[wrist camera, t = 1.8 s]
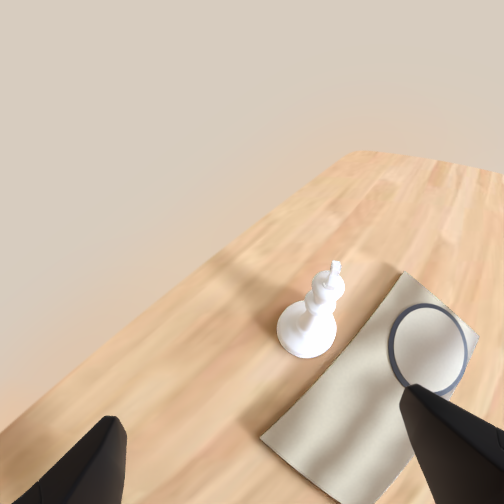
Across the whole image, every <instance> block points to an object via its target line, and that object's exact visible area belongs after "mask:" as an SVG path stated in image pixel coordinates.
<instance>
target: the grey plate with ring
mask: <svg viewBox="0 0 504 504" xmlns="http://www.w3.org/2000/svg"><path fill="white" fill-rule="evenodd" d="M479 337H480V336H479V335H478V334H477V333H475V332H474V331H473V330H472V329H471V328H470V327H469V326H468V325H467V324H466V323H465V322H464V321H463V320H461V319H460V318H459V317H458V316H457V315H456V314H455V313H454V312H453V311H451V310H450V309H449V308H448V307H447V306H446V305H445V304H444V303H442V302H441V301H440V300H439V299H438V298H437V297H436V296H434V295H433V294H432V293H431V292H430V291H429V290H427V289H426V288H425V287H424V286H423V285H421V284H420V283H419V282H418V281H417V280H415V279H414V278H413V277H412V276H411V275H409V274H408V273H407V272H406V271H404V272H403V273H402V274H401V276H400V277H399V279H398V280H397V282H396V283H395V284H394V286H393V287H392V289H391V290H390V291H389V293H388V294H387V296H386V297H385V298H384V300H383V301H382V302H381V304H380V305H379V306H378V308H377V309H376V310H375V312H374V313H373V314H372V316H371V317H370V318H369V320H368V321H367V322H366V323H365V325H364V326H363V327H362V328H361V330H360V331H359V332H358V333H357V335H356V336H355V337H354V338H353V340H352V341H351V342H350V343H349V344H348V346H347V347H346V348H345V349H344V350H343V351H342V353H341V354H340V355H339V356H338V357H337V358H336V360H335V361H334V362H333V363H332V364H331V365H330V366H329V368H328V369H327V370H326V371H325V372H324V373H323V374H322V375H321V376H320V378H319V379H318V380H317V381H316V382H315V383H314V384H313V385H312V386H311V387H310V388H309V389H308V390H307V391H306V392H305V393H304V395H303V396H302V397H301V398H300V399H299V400H298V401H297V402H296V403H295V404H294V405H293V406H292V407H291V408H290V409H289V410H288V411H287V412H286V413H285V414H284V415H283V416H282V417H281V418H280V419H278V420H277V421H276V422H275V423H274V424H273V425H272V426H271V427H270V428H269V429H268V430H267V431H266V432H265V433H264V434H262V435H261V436H260V437H259V438H260V439H261V440H262V441H263V442H264V443H265V444H266V445H267V446H268V447H270V448H271V449H272V450H273V451H274V452H275V453H276V454H278V455H279V456H280V457H281V458H282V459H284V460H285V461H286V462H287V463H288V464H290V465H291V466H292V467H293V468H294V469H296V470H297V471H298V472H299V473H301V474H302V475H303V476H304V477H306V478H307V479H308V480H309V481H311V482H312V483H313V484H315V485H316V486H317V487H319V488H320V489H321V490H323V491H324V492H325V493H327V494H328V495H329V496H331V497H332V498H334V499H335V500H336V501H338V502H339V503H341V504H374V503H375V502H376V501H377V500H378V499H379V498H380V497H381V495H382V494H383V493H384V492H385V491H386V490H387V489H388V487H389V486H390V485H391V484H392V483H393V481H394V480H395V479H396V478H397V477H398V475H399V474H400V473H401V472H402V470H403V469H404V468H405V466H406V465H407V464H408V463H409V461H410V460H411V459H412V457H413V456H414V454H415V453H414V451H413V448H412V446H411V443H410V440H409V437H408V434H407V431H406V428H405V424H404V421H403V418H402V415H401V412H400V409H399V402H400V399H401V397H402V394H403V391H404V389H405V387H406V386H408V385H412V384H415V383H417V384H419V385H421V386H423V387H425V388H427V389H428V390H430V391H432V392H434V393H435V394H437V395H439V396H441V397H442V398H444V399H446V400H448V401H449V400H450V398H451V396H452V394H453V392H454V390H455V389H456V387H457V385H458V383H459V381H460V380H461V378H462V376H463V374H464V372H465V369H466V367H467V365H468V362H469V360H470V358H471V356H472V354H473V351H474V349H475V347H476V344H477V342H478V340H479Z"/></svg>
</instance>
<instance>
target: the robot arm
mask: <svg viewBox="0 0 504 504" xmlns="http://www.w3.org/2000/svg"><path fill="white" fill-rule="evenodd" d="M399 409H400V412H401V415H402V418H403V421H404V424H405V428H406V431H407V434H408V437H409V440H410V443H411V446H412V448H413V451H414V453H415V455H416V457H417V460H418V462H419V464H420V467H421V469H422V471H423V474H424V476H425V478H426V481H427V483H428V486H429V488H430V491H431V493H432V495H433V498H434V500H435V503H436V504H504V431H503V430H501V429H499V428H496V427H495V426H494V425H492V424H490V423H488V422H486V421H484V420H482V419H481V418H479V417H477V416H475V415H473V414H471V413H470V412H468V411H466V410H464V409H462V408H460V407H459V406H457V405H455V404H453V403H451V402H450V401H448V400H446V399H444V398H442V397H441V396H439V395H437V394H435V393H434V392H432V391H430V390H428V389H427V388H425V387H423V386H421V385H419V384H417V383H415V384H412V385H408V386H406V387H405V389H404V391H403V394H402V397H401V399H400V402H399ZM126 446H127V434H126V431H125V429H124V427H123V426H122V424H121V422H120V420H119V419H118V418H117V417H116V416H104V417H103V418H102V419H101V420H100V421H99V422H98V423H97V424H96V425H95V426H94V427H93V428H92V429H91V430H90V431H89V432H88V433H87V434H85V435H84V436H83V437H82V438H81V439H80V440H79V441H78V442H77V443H76V444H75V445H74V446H73V447H72V448H71V449H70V450H69V451H68V452H67V453H66V454H65V455H64V456H63V457H62V458H61V459H60V460H59V461H58V462H57V463H56V464H55V465H54V466H53V467H52V468H51V469H50V470H49V471H48V472H47V473H46V474H44V475H43V476H42V477H41V478H40V479H39V482H38V481H37V482H36V483H35V484H34V485H33V486H32V487H31V488H30V489H29V490H28V491H26V492H25V493H24V494H23V495H22V496H21V497H19V498H18V499H17V500H16V501H14V502H13V503H12V504H121V500H122V493H123V487H124V480H125V464H126Z"/></svg>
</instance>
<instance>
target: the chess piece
mask: <svg viewBox="0 0 504 504" xmlns="http://www.w3.org/2000/svg"><path fill="white" fill-rule="evenodd" d="M340 270H341V265H340V262H338V261H335V260H333V261H332V264H331V268H330V271H321V272H319V273H317V274H316V275H315V276H314V278H313V280H312V290H310V291H309V292H308V293H307V294H306V296H305V300H304V301H298V302H295V303H293V304H291V305H290V306H288V307H287V308H286V309H285V310H284V311H283V313H282V314H281V316H280V318H279V320H278V323H277V336H278V339H279V341H280V343H281V345H282V346H283V347H284V348H285V349H286V350H287V351H288V352H289V353H291V354H292V355H295V356H297V357H301V358H313V357H317V356H319V355H321V354H323V353H325V352H326V351H327V350H328V349H329V348H330V346H331V345H332V343H333V341H334V338H335V335H336V323H335V320H334V317H333V315H332V314H331V313H332V312H333V311H334V309H335V306H336V300H337V299H339V298H340V297H341V296H342V294H343V292H344V288H345V286H344V282H343V280H342V278H341V277H340V276H339V273H340Z"/></svg>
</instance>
